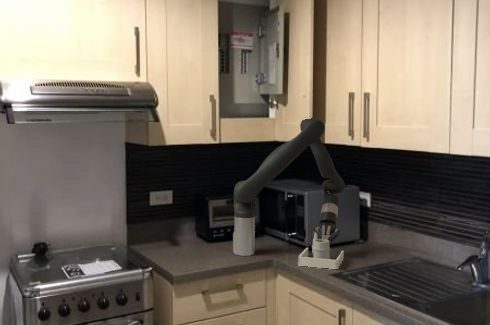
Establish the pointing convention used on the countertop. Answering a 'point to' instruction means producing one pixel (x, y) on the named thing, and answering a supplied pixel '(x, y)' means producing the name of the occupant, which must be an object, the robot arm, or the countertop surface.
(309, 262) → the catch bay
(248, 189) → the robot arm
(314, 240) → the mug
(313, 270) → the countertop surface
